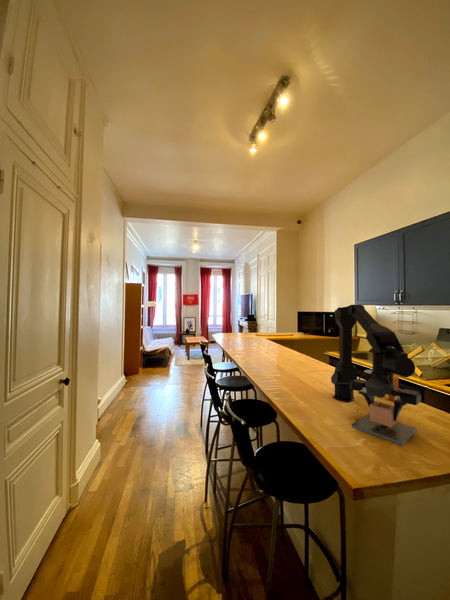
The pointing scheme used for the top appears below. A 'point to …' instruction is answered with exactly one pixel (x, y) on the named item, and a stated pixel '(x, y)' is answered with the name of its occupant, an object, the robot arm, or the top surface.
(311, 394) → the top surface
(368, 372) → the coffee mug
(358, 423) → the pin plate
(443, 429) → the top surface
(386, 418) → the socket block
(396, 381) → the carrot
